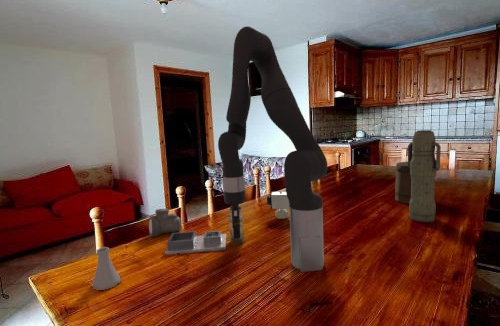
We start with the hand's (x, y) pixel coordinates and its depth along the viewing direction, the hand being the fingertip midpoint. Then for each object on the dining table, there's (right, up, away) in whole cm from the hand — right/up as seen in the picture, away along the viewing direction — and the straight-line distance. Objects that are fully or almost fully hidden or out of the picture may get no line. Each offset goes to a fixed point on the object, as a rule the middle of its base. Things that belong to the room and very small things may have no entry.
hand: (236, 233), depth 103 cm
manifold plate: (-14, -4, -1) cm, 14 cm away
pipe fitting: (-29, -3, +12) cm, 31 cm away
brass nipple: (0, -3, 0) cm, 3 cm away
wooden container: (+84, +6, +39) cm, 92 cm away
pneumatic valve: (+19, +1, +24) cm, 30 cm away
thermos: (+73, +3, +13) cm, 74 cm away
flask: (-34, -8, -24) cm, 43 cm away
